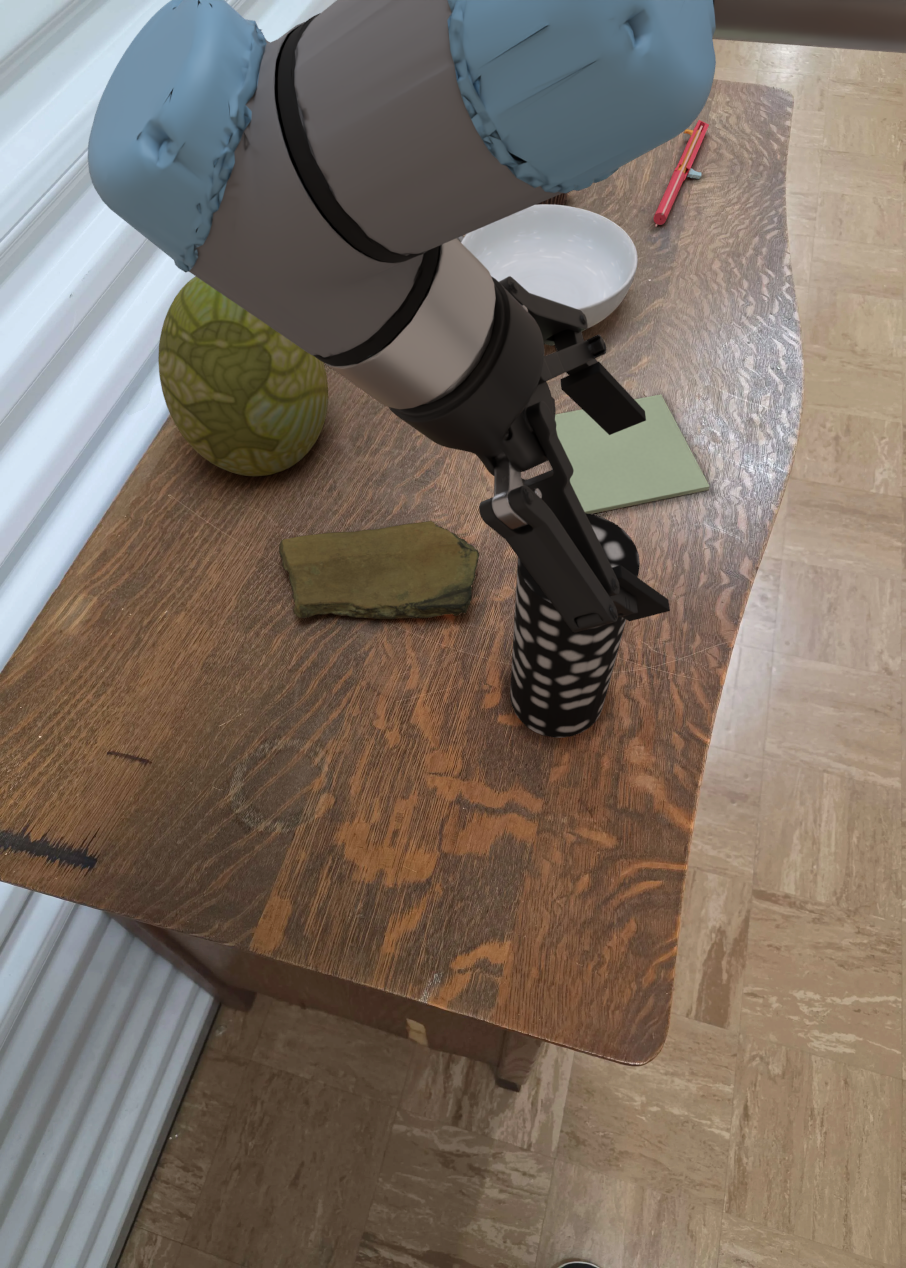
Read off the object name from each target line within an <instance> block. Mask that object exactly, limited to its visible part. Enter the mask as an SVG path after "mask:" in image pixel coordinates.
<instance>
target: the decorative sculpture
mask: <svg viewBox="0 0 906 1268" xmlns="http://www.w3.org/2000/svg"><path fill="white" fill-rule="evenodd" d="M157 362H158V375H159V381H160V387H161V392H162V396H163V399H164V401H165V405H166V407H167V410H168V413H169V414H170V417H171V419H172V421H173V423H174V425H175V427H176V428H177V430H178V431H179V433H180V435H181V436H182V438H184V440H185V441H186V442H187V443H188V445H189V446H190V447H191V448H192V449H193V450H194V451H195V452H196V453H198V454H199V455H200V456H201V457H202V458H204V459H205V460H206V461H208V462H209V463H210V464H212V465H213V466H216V467H218V468H219V469H222V470H224V471H227V472H229V473H232V474H236V475H239V476H246V477H262V476H263V477H264V476H271V475H274V474H277V473H280V472H283V471H285V470H287V469H290V468H291V467H293V466H295V465H296V464H297V463H299V462H300V461H301V460H302V459H303V458H305V456H307V454H308V453H309V452H310V451H311V449H312V448H313V446H314V445H315V444H316V442H317V440H318V438H319V437H320V435H321V433H322V430H323V428H324V425H325V422H326V417H327V413H328V406H329V383H328V375H327V371H326V366H325V365H326V364H325V363H324V362H322V361H320V360H319V359H317V358H316V357H314V356H313V355H311V354H309V353H307V352H306V351H304V350H303V349H302V348H300V347H299V346H297V345H296V344H294V343H293V342H291V341H290V340H289V339H287V338H286V337H284V336H283V335H281V334H280V333H278V332H277V331H275V330H274V329H273V328H271V327H270V326H268V325H267V324H265V323H264V322H262V321H261V320H259V319H258V318H256V317H255V316H253V315H252V314H251V313H249V312H248V311H246V310H245V309H243V308H242V307H240V306H239V305H237V304H236V303H234V302H233V301H231V300H230V299H228V298H227V297H226V296H224V295H223V294H221V293H220V292H218V291H217V290H215V289H214V288H212V287H211V286H209V285H208V284H206V283H205V282H203V281H202V280H200V279H199V278H198V277H196V276H195V275H194V277H192V278H191V279H190V280H188V281H187V282H186V283H185V285H183V286H182V287H181V289H180V290H179V291H178V292H177V294H176V295H175V296H174V298H173V300H172V302H171V304H170V306H169V308H168V310H167V313H166V315H165V318H164V320H163V324H162V327H161V330H160V336H159V342H158V361H157Z"/></svg>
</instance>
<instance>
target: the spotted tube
mask: <svg viewBox="0 0 906 1268" xmlns="http://www.w3.org/2000/svg"><path fill="white" fill-rule="evenodd" d="M585 514H586V516H587V518H588V520H589V522H590V524H591V526H592V528H593V530H594V532H595V534H596V536H597V538H598V540H599V542H600V544H601V546H602V548H603V550H604V552H605V554H606V556H607V558H608V561H609V563H610V565H611V567H616V566H619V565H621V566H623V567H624V568H625V569H627V570H628V571H629V572H631V573H632V574H634V575H635V576H636V577H638V578H639V575H640V574H639V573H640V567H641V563H640V562H641V561H640V555H639V551H638V549H637V545H636V544H635V542H634V541H633V539H632V537H631V536H630V535H629V534H628V533H627V532H626V531H625V530H624V528H622V527H620V526H619V525H618V524H616V523H615V522H614V521H611V520H609V519H607V518H606V517H602V516H599V515H596V514H594V513H593V514H587V513H585ZM516 564H517V565H516V568H517V569H516V581H515V582H516V584H515V598H514V599H515V600H514V602H515V603H514V618H513V631H512V632H513V633H512V634H513V635H512V653H511V667H510V668H511V669H510V686H509V701H510V704H511V707H512V709H513V710H512V711H514V714H515V715H516V717H517V719H518V720H519V721H520V722H521V723H523V725H524V726H525V727H526V728H528V729H529V730H531V731H533V732H535V733H537V734H539V735H541V736H544V737H549V738H554V739H555V738H557V739H558V738H560V739H561V738H562V739H564V738H569V737H574V736H577V735H580V734H582V733H584V732H586V731H587V730H588V729H590V728H591V727H592V726H593V725H594V724H595V723H596V722H597V721H598V719H599V717H600V716H601V713H602V711H603V709H604V705H605V702H606V697H607V694H608V690H609V686H610V683H611V678H612V675H613V672H614V667H615V665H616V660H617V656H618V653H619V649H620V645H621V642H622V638H623V634H624V630H625V626H626V623H627V620H626V619H624V618H623V617H619V618H618V619H617V621H616V622H613V623H609V624H606V625H602V626H598V627H594V628H590V629H586V630H582V631H579V632H573V631H572V630H571V629H570V628H569V626H568V625H567V624H566V622H565V621H564V619H563V618H562V617H561V615H560V614H559V613H558V611H557V610H556V608H555V607H554V606H553V604H552V603H551V602H550V600H549V599H548V597H547V596H546V595H545V593H544V592H543V591H542V589H541V588H540V586H539V585H538V584H537V582H536V581H535V580H534V578H533V577H532V575H531V574H530V573H529V571H528V570H527V569H526V567H525V566H524V564H523V563H522V562H521V560H520V559H519V558H518V557H517V563H516Z"/></svg>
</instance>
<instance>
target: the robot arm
mask: <svg viewBox="0 0 906 1268" xmlns="http://www.w3.org/2000/svg"><path fill="white" fill-rule="evenodd" d="M714 40H720V41H731V42H732V41H733V42H735V41H736V42H747V43H760V44H774V45H787V46H788V45H789V46H800V47H816V48H829V49H843V50H853V51H854V50H855V51H868V52H884V53H895V54H896V53H897V54H906V0H335V1H334V2H333V3H331V4H330V5H329V6H328V7H326V8H325V9H324V10H322V12H319V13H316V14H315V15H313V16H311V17H310V18H308V19H307V20H306V21H303V22H301V23H299V24H296V25H295V26H293V27H292V28H291V29H290V30H288V31H286V33H284V34H283V35H281V36H279V38H277V39H275V40H273V41H268V40H267V38H266V37H265V34H264V32H263V31H262V29H261V28H259V26H258V24H257V21H256V20H253V19H246V18H245V17H244V16H242V15H241V14H240V13H239V12H238V11H237V10H236V9H235V8H234V7H233V6H232V5H230V4H229V3H228V2H227V1H226V0H170V1H167V3H165V4H164V5H162V7H161V8H160V9H159V10H158V11H156V12H155V13H154V14H153V15H152V16H151V17H150V18H149V20H148V21H147V22H146V23H145V24H144V25H143V26H142V28H141V29H140V30H139V31H138V33H137V34H136V35H135V37H134V38H133V40H132V41H131V42H130V43H129V45H128V47H127V48H126V50H125V51H124V52H123V54H122V56H121V57H120V59H119V61H118V63H117V64H116V66H115V68H114V70H113V72H112V74H111V75H110V77H109V79H108V81H107V84H106V85H105V88H104V90H103V92H102V94H101V97H100V100H99V102H98V105H97V107H96V110H95V113H94V117H93V121H92V126H91V129H90V133H89V137H88V143H87V165H88V167H87V168H88V174H89V176H90V180H91V183H92V186H93V188H94V190H95V192H96V193H97V195H98V196H99V198H100V199H101V201H102V202H103V204H105V205H106V207H108V209H110V210H111V211H112V212H113V213H114V214H116V215H117V216H118V217H119V218H121V219H122V220H123V221H124V222H125V223H126V224H128V225H130V226H131V228H133V229H134V230H136V231H137V232H138V233H140V234H141V235H142V236H143V237H145V238H146V239H147V240H148V241H149V242H150V243H152V244H153V245H154V246H155V247H157V248H158V249H159V250H161V251H162V252H163V253H164V254H165V255H166V256H168V257H169V258H170V259H172V260H173V262H174V265H175V266H176V267H177V268H178V269H179V270H181V271H183V272H184V273H190V274H191V275H193V276H194V277H195V276H196V277H198V278H199V279H200V280H202V281H203V282H205V283H206V284H208V285H209V286H211V287H212V288H214V289H215V290H217V291H218V292H220V293H221V294H223V295H224V296H226V297H227V298H228V299H230V300H231V301H233V302H234V303H236V304H237V305H239V306H240V307H242V308H243V309H245V310H246V311H248V312H249V313H251V314H252V315H253V316H255V317H256V318H258V319H259V320H261V321H262V322H264V323H265V324H267V325H268V326H270V327H271V328H273V329H274V330H275V331H277V332H278V333H280V334H281V335H283V336H284V337H286V338H287V339H289V340H290V341H291V342H293V343H294V344H296V345H297V346H299V347H300V348H302V349H303V350H304V351H306V352H307V353H309V354H311V355H313V356H314V357H316V358H317V359H319V360H320V361H322V362H324V365H326V366H327V367H329V368H330V369H332V370H333V371H335V372H336V373H337V374H339V375H340V376H342V377H343V378H344V379H346V380H348V381H349V382H350V383H351V384H353V385H354V386H356V387H357V388H358V389H360V390H361V391H363V392H364V393H365V394H367V395H368V396H369V397H371V398H372V399H374V401H375V400H376V401H377V402H379V403H380V404H381V405H382V406H384V407H386V408H388V409H389V411H391V412H392V414H394V416H396V417H398V418H399V419H400V420H402V421H403V422H404V423H406V424H408V425H409V426H410V427H412V428H413V429H415V430H416V431H418V432H419V433H420V434H422V435H423V436H425V437H426V438H428V439H429V440H430V441H431V442H433V443H435V444H437V445H439V446H441V447H444V448H448V449H451V450H457V451H462V452H467V453H470V454H474V455H475V456H476V457H477V458H478V459H479V460H480V462H481V463H482V465H483V466H484V467H485V469H486V470H487V472H488V473H489V474H490V475H491V476H493V480H494V481H493V497H490V498H487V499H485V500H482V501H480V503H479V505H478V511H479V516H480V518H481V519H482V521H483V522H484V523H485V525H487V526H488V527H489V528H490V529H492V530H493V531H494V532H496V533H497V534H498V535H500V536H501V537H502V538H503V539H504V540H505V541H506V542H507V544H508V546H509V547H510V548H511V549H512V551H513V552H514V554H515V555H516V557H517V559H518V558H519V559H520V560H521V562H522V563H523V564H524V566H525V567H526V569H527V570H528V571H529V573H530V574H531V575H532V577H533V578H534V580H535V581H536V582H537V584H538V585H539V586H540V588H541V589H542V591H543V592H544V593H545V595H546V596H547V597H548V599H549V600H550V602H551V603H552V604H553V606H554V607H555V608H556V610H557V611H558V613H559V614H560V615H561V617H562V618H563V619H564V621H565V622H566V624H567V625H568V626H569V628H570V629H571V630H572V631H573V632H579V631H582V630H586V629H590V628H594V627H598V626H602V625H606V624H609V623H613V622H616V621H617V619H618V618H619V617H623V618H624V619H626V621H627V622H633V621H637V620H641V619H645V618H649V617H652V616H657V615H660V614H664V613H668V612H670V611H671V609H670V608H671V607H670V600H669V598H667V597H665V596H664V595H663V594H661V592H659V591H658V590H656V589H655V588H653V587H652V586H650V585H649V584H648V583H646V582H645V581H644V580H643V579H641V578H639V576H638V577H636V576H635V575H634V574H632V573H631V572H629V571H628V570H627V569H625V568H624V567H623V566H621V565H619V566H616V567H611V565H610V563H609V561H608V558H607V556H606V554H605V552H604V550H603V548H602V546H601V544H600V542H599V540H598V538H597V536H596V534H595V532H594V530H593V528H592V526H591V524H590V522H589V520H588V518H587V516H586V514H585V512H584V510H583V508H582V506H581V503H580V501H579V499H578V497H577V495H576V493H575V491H574V489H573V487H572V485H571V483H570V478H571V477H572V475H573V472H574V470H573V467H572V465H571V463H570V461H569V458H568V456H567V454H566V452H565V450H564V448H563V446H562V444H561V442H560V440H559V438H558V435H557V431H556V421H555V414H557V411H556V410H557V409H556V399H555V398H554V397H553V396H552V392H551V389H550V385H549V384H548V381H550V380H553V379H555V378H557V377H559V376H561V375H563V374H565V373H566V374H567V375H566V376H564V377H562V378H560V389H561V390H562V392H563V393H565V394H566V396H568V397H569V398H570V399H571V400H572V401H573V402H574V403H575V404H576V405H577V406H578V407H579V408H580V410H582V409H583V410H584V411H585V412H586V413H587V414H588V415H589V416H590V417H591V418H592V419H593V420H594V421H595V422H596V423H597V424H598V425H599V426H600V427H601V428H602V429H603V430H604V431H606V432H607V433H608V434H609V435H611V434H614V433H616V432H619V431H621V430H624V429H626V428H629V427H631V426H634V425H636V424H639V423H641V422H644V421H646V415H645V410H644V409H643V408H642V407H641V406H640V405H639V404H638V403H637V402H636V401H635V400H634V399H635V398H634V397H633V396H632V395H631V394H630V393H629V392H628V391H627V390H626V389H625V387H624V386H623V385H622V384H620V382H619V381H618V380H617V379H616V378H615V376H613V375H612V374H611V372H610V371H608V369H607V368H606V367H605V366H604V364H603V363H601V361H598V360H597V358H599V357H601V356H604V355H606V354H607V345H606V342H605V340H604V338H603V337H602V335H600V334H596V335H594V336H592V337H590V338H587V339H585V340H584V337H583V332H584V331H586V330H587V329H589V328H588V324H587V318H586V316H585V314H583V312H582V311H581V310H578V309H575V308H573V307H570V306H567V305H564V304H561V303H558V302H555V301H552V300H549V299H546V298H543V297H540V296H537V295H534V294H531V293H529V292H528V291H527V290H525V289H524V288H523V287H522V286H521V285H520V284H519V283H518V282H517V281H516V280H514V279H513V278H512V277H511V276H509V277H507V278H505V279H503V280H501V281H499V282H498V281H497V280H496V279H495V278H493V277H492V276H491V275H490V272H489V271H488V270H487V268H486V267H485V266H484V265H483V264H482V263H481V262H480V261H479V260H478V259H477V258H476V257H475V256H474V255H473V254H472V253H471V252H470V251H469V250H468V249H467V248H466V247H465V246H464V245H463V244H462V243H461V242H460V241H459V240H458V239H457V238H458V237H461V236H463V237H464V236H465V235H466V234H468V233H470V232H472V231H475V230H477V229H479V228H482V227H484V226H486V225H489V224H491V223H493V222H496V221H498V220H501V219H503V218H505V217H508V216H510V215H512V214H515V213H517V212H519V211H522V210H524V209H526V208H529V207H531V206H533V205H536V204H538V203H540V202H543V201H545V200H547V199H550V198H552V197H555V196H557V195H559V194H562V193H567V194H568V193H570V192H572V191H575V192H577V191H578V192H579V191H582V190H586V189H587V188H589V187H591V186H592V185H593V184H597V183H600V182H602V181H606V180H607V179H608V178H609V177H611V176H612V175H614V174H615V173H616V172H617V171H618V170H619V169H620V168H621V167H623V166H625V165H627V164H629V163H630V162H632V161H635V160H637V158H640V157H642V156H644V155H645V154H647V153H648V152H651V151H653V150H654V149H656V148H658V147H660V146H662V145H663V144H665V143H668V142H669V141H671V140H673V139H675V138H676V137H678V136H679V135H681V134H682V133H684V131H685V130H686V129H689V128H690V126H691V125H692V124H693V123H694V122H695V121H696V120H697V118H698V117H699V116H700V114H701V113H702V111H703V109H704V108H705V105H706V104H707V101H708V99H709V96H710V94H711V91H712V87H713V82H714V78H715V75H716V66H717V65H716V64H717V60H716V51H715V47H714ZM545 345H546V346H552V347H553V346H554V347H555V351H554V352H552V353H549V354H547V355H545ZM546 462H549V465H550V467H551V468H552V469H551V470H548V471H546V472H543V473H541V474H537V475H535V476H532V477H530V478H527V479H525V478H523V477H522V473H525V472H526V471H528V470H531V469H533V468H535V467H538V466H539V465H543V464H544V463H546Z"/></svg>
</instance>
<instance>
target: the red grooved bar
mask: <svg viewBox="0 0 906 1268" xmlns="http://www.w3.org/2000/svg"><path fill="white" fill-rule="evenodd" d="M709 126H710V124H709V123H706V122H705V121H702V120H701V119H698V120H697V122H696V124H695V126H694V128H693V129H689V128H687V129H686V130H685V131H683V134H687V135H689V139H688V140H687V142H686V145H685V147H684V149H683V152H682V154H681V156H680V157H679V158H680V159H679V161H678V163H677V164H676V167H675V168H674V170H673V172H672V175H671V177H670V180H669V182H668V184H667V187H666V188H665V191H664V193H663V195H662V197H661V199H660V202H659V204H658V206H657V208H656V211H655V213H654V215H653V222H654V223H655V224H654V228H657V227H658V225H659V226H661V225H664V224H665V223H666V222H667V219H668V217H669V215H670V213H671V211H672V208H673V206H674V204H675V201H676V199H677V196H678V194H679V192H680V189H681V188H682V184H683V182H685V181H686V178H690V179H696V180H700V179H701V178H702V172H701V171H697V170H694V169H693V168H692V165H693V164H694V161H695V159H696V156H697V155H698V152H699V150H700V147H701V145H702V142H703V141H704V138H705V135H706V133H707V131H708V128H709Z"/></svg>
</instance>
